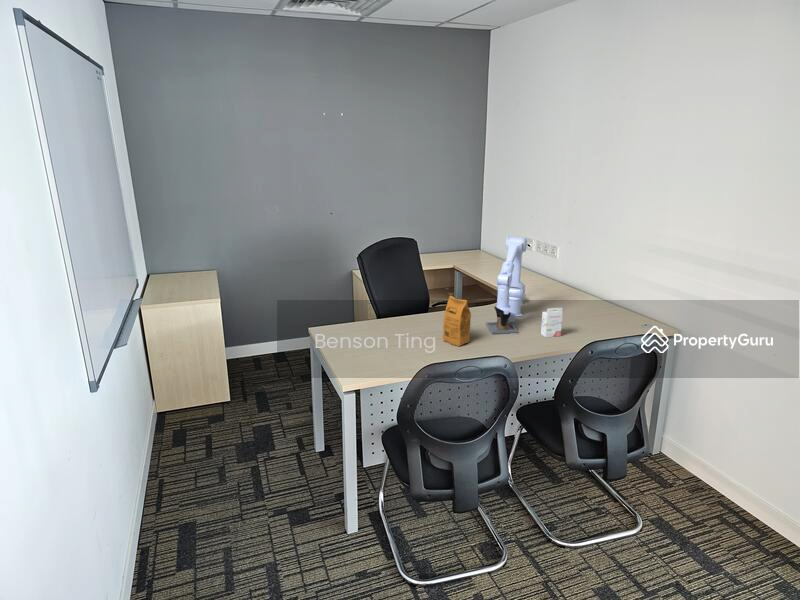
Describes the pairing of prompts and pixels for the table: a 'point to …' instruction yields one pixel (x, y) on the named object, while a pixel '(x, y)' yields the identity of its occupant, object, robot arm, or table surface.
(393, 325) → the table surface
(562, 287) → the table surface
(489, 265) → the table surface
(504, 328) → the walnut cube
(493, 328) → the tray
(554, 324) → the ink cartridge box
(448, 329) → the coffee package
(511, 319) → the slate blue block
